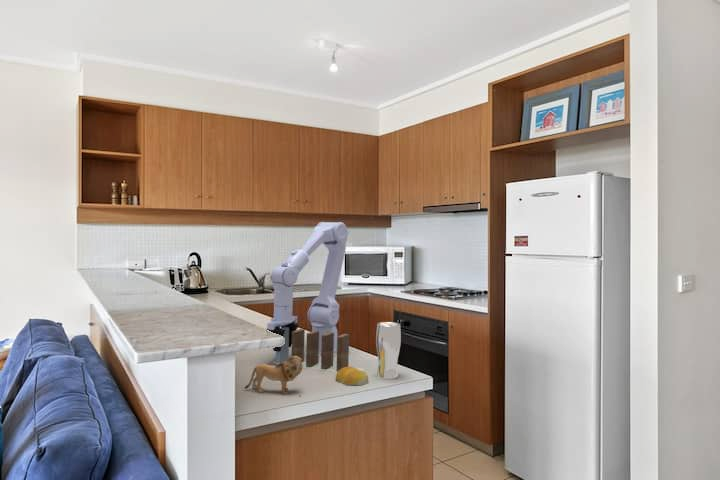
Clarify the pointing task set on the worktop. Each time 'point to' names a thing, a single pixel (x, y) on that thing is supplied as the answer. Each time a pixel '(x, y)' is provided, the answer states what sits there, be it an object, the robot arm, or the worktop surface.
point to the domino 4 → (327, 350)
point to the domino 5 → (342, 351)
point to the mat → (318, 367)
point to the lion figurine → (277, 373)
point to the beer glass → (388, 349)
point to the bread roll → (351, 376)
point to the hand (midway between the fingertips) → (282, 349)
